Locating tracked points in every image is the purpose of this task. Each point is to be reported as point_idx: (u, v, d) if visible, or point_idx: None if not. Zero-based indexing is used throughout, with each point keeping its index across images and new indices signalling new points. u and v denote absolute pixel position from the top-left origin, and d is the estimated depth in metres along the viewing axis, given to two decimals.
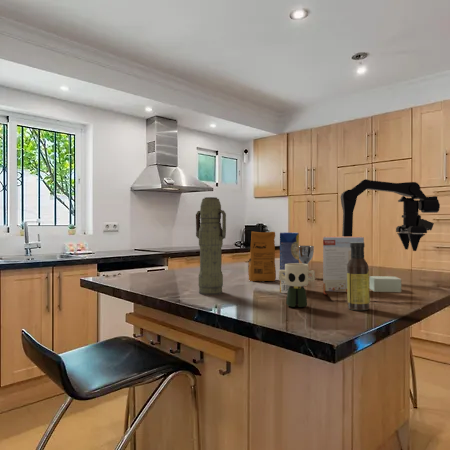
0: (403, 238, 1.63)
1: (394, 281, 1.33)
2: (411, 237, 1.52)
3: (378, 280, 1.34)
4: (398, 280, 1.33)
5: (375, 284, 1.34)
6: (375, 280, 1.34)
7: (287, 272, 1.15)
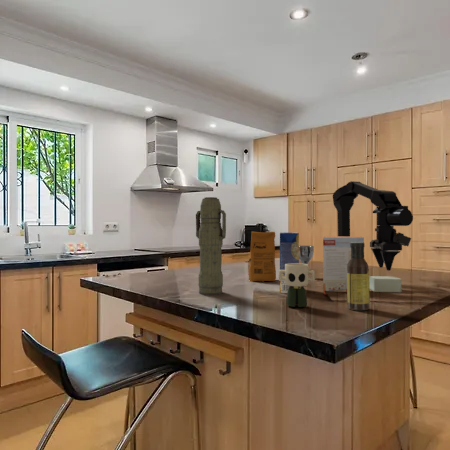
0: (377, 254, 1.42)
1: (394, 281, 1.33)
2: (384, 255, 1.31)
3: (378, 280, 1.34)
4: (398, 280, 1.33)
5: (375, 284, 1.34)
6: (375, 280, 1.34)
7: (287, 272, 1.15)
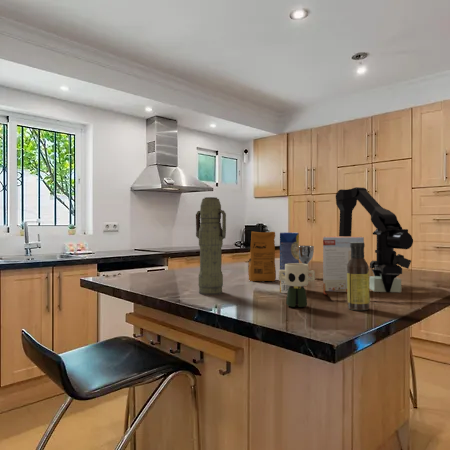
0: None
1: (394, 281, 1.33)
2: (383, 277, 1.32)
3: (378, 280, 1.34)
4: (398, 280, 1.33)
5: (375, 284, 1.34)
6: (375, 280, 1.34)
7: (287, 272, 1.15)
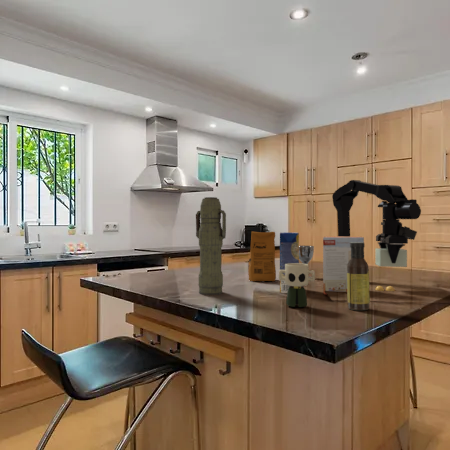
0: (384, 248, 1.43)
1: (400, 252, 1.35)
2: (389, 248, 1.33)
3: (384, 251, 1.36)
4: (404, 251, 1.35)
5: (381, 255, 1.36)
6: (381, 251, 1.36)
7: (287, 272, 1.15)
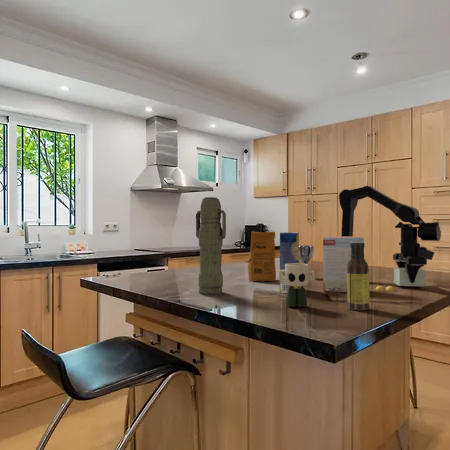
0: (401, 267, 1.48)
1: (418, 272, 1.40)
2: (408, 268, 1.39)
3: (403, 271, 1.41)
4: (422, 271, 1.40)
5: (400, 275, 1.41)
6: (400, 271, 1.41)
7: (287, 272, 1.15)
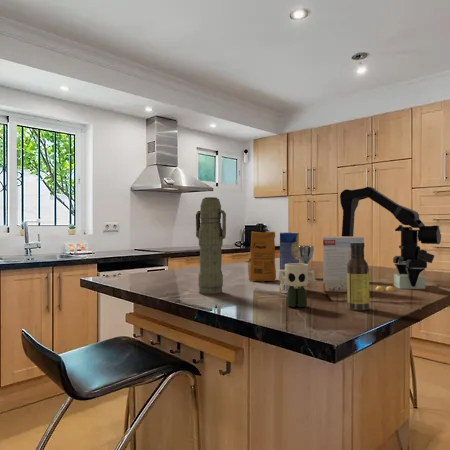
0: (401, 270, 1.49)
1: (418, 278, 1.40)
2: (409, 272, 1.38)
3: (403, 277, 1.41)
4: (422, 277, 1.40)
5: (400, 281, 1.41)
6: (400, 277, 1.41)
7: (287, 272, 1.15)
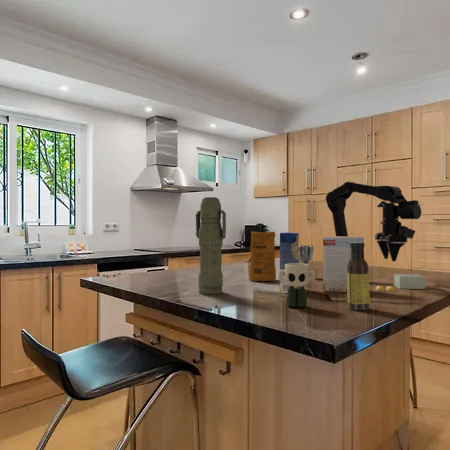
0: (382, 246, 1.50)
1: (418, 278, 1.40)
2: (390, 246, 1.39)
3: (403, 277, 1.41)
4: (422, 277, 1.40)
5: (400, 281, 1.41)
6: (400, 277, 1.41)
7: (287, 272, 1.15)
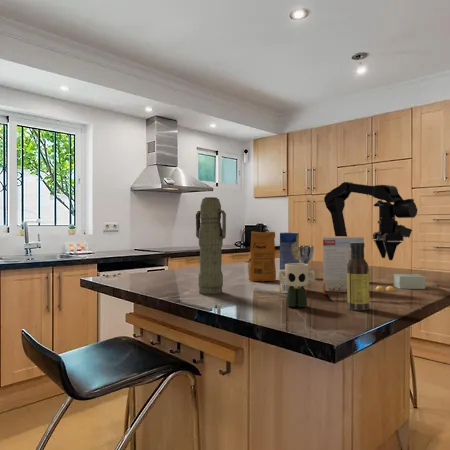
0: (380, 246, 1.50)
1: (418, 278, 1.40)
2: (386, 245, 1.39)
3: (403, 277, 1.41)
4: (422, 277, 1.40)
5: (400, 281, 1.41)
6: (400, 277, 1.41)
7: (287, 272, 1.15)
